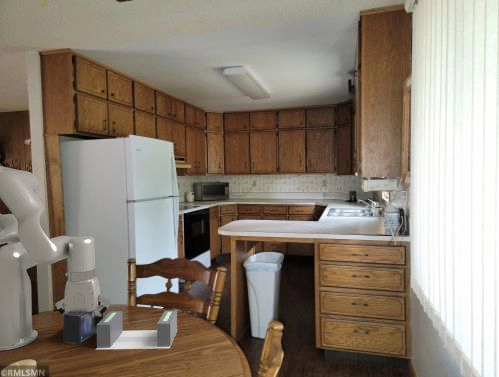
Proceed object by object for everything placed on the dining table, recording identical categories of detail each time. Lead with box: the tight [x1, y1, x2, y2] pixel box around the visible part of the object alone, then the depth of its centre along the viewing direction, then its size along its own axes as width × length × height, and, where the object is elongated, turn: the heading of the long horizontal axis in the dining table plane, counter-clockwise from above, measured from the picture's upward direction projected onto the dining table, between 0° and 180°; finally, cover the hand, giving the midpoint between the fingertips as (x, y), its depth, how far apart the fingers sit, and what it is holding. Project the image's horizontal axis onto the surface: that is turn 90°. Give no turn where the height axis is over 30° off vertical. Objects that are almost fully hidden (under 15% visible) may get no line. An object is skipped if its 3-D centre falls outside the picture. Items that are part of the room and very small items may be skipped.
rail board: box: [95, 329, 178, 351], centre depth 103 cm, size 22×12×2 cm, turn 91°
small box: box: [62, 304, 102, 345], centre depth 105 cm, size 11×6×10 cm, turn 168°
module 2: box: [156, 310, 178, 348], centre depth 103 cm, size 4×10×7 cm, turn 1°
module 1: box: [96, 310, 124, 348], centre depth 102 cm, size 4×10×7 cm, turn 1°
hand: (84, 327), depth 105 cm, fingers open, 9 cm apart
